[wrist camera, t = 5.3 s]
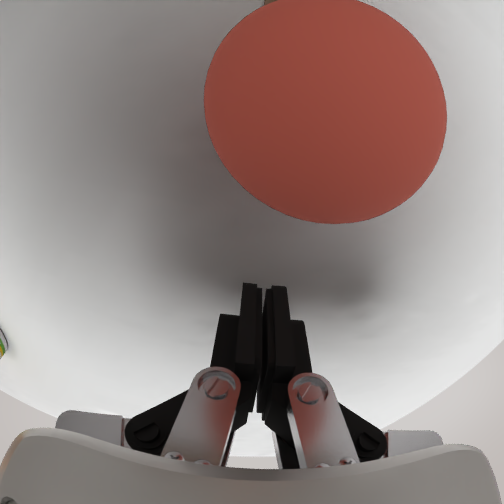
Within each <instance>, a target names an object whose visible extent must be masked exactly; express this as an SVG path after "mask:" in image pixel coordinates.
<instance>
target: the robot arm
mask: <svg viewBox="0 0 504 504" xmlns="http://www.w3.org/2000/svg"><path fill="white" fill-rule="evenodd" d="M256 392H257V413H262V421H265V425H266V426H268V427H269V428H270V429H271V430H272V437H273V442H274V447H275V453H276V458H277V463H278V467H279V469H247V468H233V467H232V468H231V467H226V465H227V461H228V458H229V454H230V450H231V447H232V443H233V439H234V436H235V431H236V430H237V429H239V428H240V427H241V426H243V425H244V424H246V423H247V417H248V412H252V411H253V407H254V402H255V397H256ZM0 504H502V503H501V498H500V493H499V490H498V486H497V482H496V479H495V476H494V473H493V470H492V468H491V466H490V463H489V461H488V460H487V458H486V456H485V455H484V453H483V452H482V451H481V450H479V449H478V448H476V447H473V446H469V445H463V444H446V445H443V442H442V438H441V437H440V436H439V434H437V433H436V432H434V431H405V430H404V431H403V430H388V431H387V432H382V431H381V430H379V429H378V428H377V427H375V426H374V425H372V424H370V423H369V422H367V421H366V420H364V419H363V418H361V417H360V416H358V415H357V414H355V413H354V412H352V411H351V410H349V409H348V408H346V407H345V406H343V405H342V404H340V403H339V402H338V401H337V398H336V396H335V393H334V390H333V388H332V386H331V384H330V382H329V381H328V380H327V379H325V378H324V377H322V376H321V375H319V374H315V373H312V367H311V361H310V355H309V349H308V343H307V337H306V331H305V325H304V322H303V321H302V320H290V312H289V304H288V296H287V288H286V287H285V286H273V285H272V287H271V289H266V293H265V300H264V307H263V313H262V288H257V284H251V283H243V290H242V299H241V309H240V316H237V315H228V314H220V317H219V322H218V327H217V333H216V338H215V343H214V349H213V354H212V360H211V365H210V367H208V368H206V369H203V370H201V371H200V372H199V373H197V374H196V376H195V377H194V379H193V381H192V383H191V386H190V388H189V389H188V390H187V391H185V392H183V393H181V394H179V395H177V396H175V397H173V398H171V399H169V400H167V401H165V402H163V403H161V404H159V405H157V406H155V407H153V408H151V409H149V410H147V411H145V412H143V413H141V414H139V415H136V416H135V417H133V418H132V419H129V418H123V417H122V416H119V415H107V414H97V413H89V412H82V411H75V410H69V411H66V412H63V413H62V414H61V415H60V416H59V417H58V420H57V422H56V427H55V428H32V429H28V430H26V431H24V432H22V433H21V434H19V435H18V436H17V437H16V438H15V440H14V441H13V442H12V444H11V446H10V448H9V449H8V451H7V453H6V454H5V457H4V459H3V461H2V463H1V466H0Z"/></svg>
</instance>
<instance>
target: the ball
mask: <svg viewBox="0 0 504 504" xmlns="http://www.w3.org/2000/svg"><path fill="white" fill-rule="evenodd" d="M204 108H205V119H206V124H207V128H208V132H209V136H210V138H211V141H212V143H213V146H214V148H215V150H216V152H217V154H218V156H219V157H220V159H221V161H222V163H223V164H224V166H225V167H226V168H227V170H228V171H229V172H230V174H231V175H232V176H233V177H234V178H235V179H236V181H237V182H238V183H239V184H240V185H241V186H242V187H243V188H244V189H245V190H247V191H248V192H249V193H250V194H252V195H253V196H254V197H255V198H257V199H258V200H260V201H261V202H263V203H264V204H266V205H268V206H269V207H271V208H273V209H275V210H277V211H279V212H281V213H284V214H286V215H288V216H291V217H294V218H298V219H301V220H305V221H310V222H315V223H325V224H341V223H354V222H359V221H364V220H369V219H371V218H374V217H377V216H380V215H382V214H384V213H386V212H388V211H390V210H392V209H394V208H396V207H397V206H399V205H401V204H402V203H403V202H405V201H406V200H407V199H409V198H410V197H411V196H412V195H413V194H414V193H415V192H416V191H417V190H418V189H419V188H420V187H421V186H422V185H423V183H424V182H425V181H426V179H427V178H428V176H429V175H430V174H431V172H432V171H433V169H434V167H435V165H436V163H437V161H438V159H439V156H440V153H441V150H442V148H443V143H444V138H445V133H446V123H447V111H446V101H445V96H444V91H443V88H442V85H441V82H440V79H439V76H438V73H437V71H436V69H435V67H434V65H433V63H432V61H431V59H430V58H429V56H428V54H427V53H426V51H425V50H424V48H423V47H422V46H421V44H420V43H419V42H418V41H417V39H416V38H415V37H414V36H413V35H412V34H411V33H410V32H409V31H408V30H407V29H406V28H404V27H403V26H402V25H401V24H400V23H399V22H397V21H396V20H395V19H393V18H392V17H390V16H389V15H387V14H386V13H384V12H382V11H380V10H378V9H377V8H375V7H372V6H370V5H368V4H365V3H363V2H360V1H357V0H277V1H274V2H271V3H269V4H267V5H265V6H263V7H260V8H258V9H257V10H255V11H254V12H252V13H251V14H249V15H248V16H246V17H245V18H244V19H243V20H242V21H240V22H239V23H238V24H237V25H236V26H235V27H234V28H233V29H232V30H231V31H230V32H229V33H228V34H227V36H226V37H225V38H224V39H223V41H222V42H221V44H220V46H219V47H218V49H217V51H216V52H215V54H214V57H213V59H212V62H211V64H210V67H209V70H208V73H207V77H206V82H205V89H204Z"/></svg>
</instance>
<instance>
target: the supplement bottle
mask: <svg viewBox="0 0 504 504" xmlns="http://www.w3.org/2000/svg"><path fill="white" fill-rule="evenodd" d="M6 350H7V342H6V340H5V337H4V335H3V333H2V332H1V330H0V359H1V357H2V356H3V355H4V353H5V352H6Z"/></svg>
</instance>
